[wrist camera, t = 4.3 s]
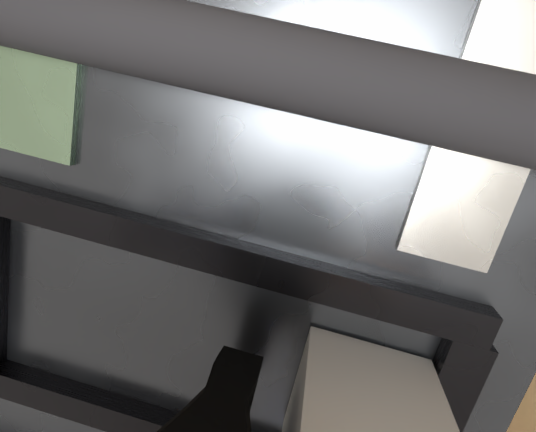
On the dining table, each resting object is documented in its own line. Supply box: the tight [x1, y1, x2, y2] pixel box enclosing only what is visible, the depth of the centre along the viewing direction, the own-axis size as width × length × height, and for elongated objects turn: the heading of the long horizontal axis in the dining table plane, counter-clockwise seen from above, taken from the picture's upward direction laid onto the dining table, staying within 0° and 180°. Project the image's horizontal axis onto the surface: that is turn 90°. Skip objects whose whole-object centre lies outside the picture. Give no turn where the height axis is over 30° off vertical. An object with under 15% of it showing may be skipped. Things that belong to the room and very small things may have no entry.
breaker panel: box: [0, 0, 536, 432], centre depth 11 cm, size 24×16×2 cm, turn 167°
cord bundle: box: [0, 0, 536, 170], centre depth 11 cm, size 17×21×3 cm
